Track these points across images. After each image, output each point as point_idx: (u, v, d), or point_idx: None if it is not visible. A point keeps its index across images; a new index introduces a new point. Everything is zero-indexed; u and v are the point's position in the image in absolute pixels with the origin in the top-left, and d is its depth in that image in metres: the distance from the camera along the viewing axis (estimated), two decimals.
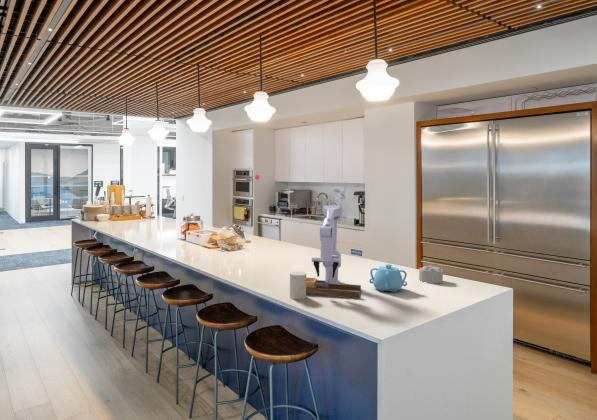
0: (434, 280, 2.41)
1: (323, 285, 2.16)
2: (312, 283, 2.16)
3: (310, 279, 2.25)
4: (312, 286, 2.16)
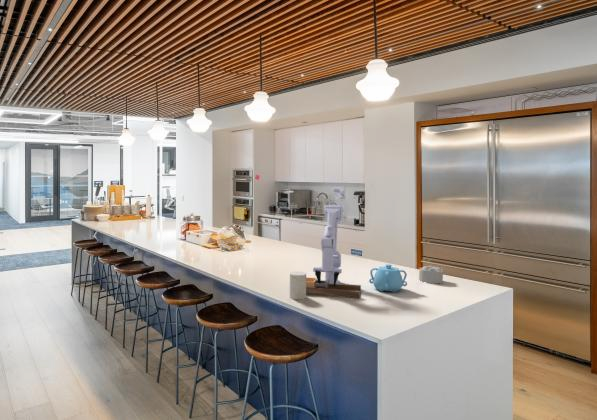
0: (434, 280, 2.41)
1: (323, 285, 2.16)
2: (312, 283, 2.16)
3: (310, 279, 2.25)
4: (312, 286, 2.16)
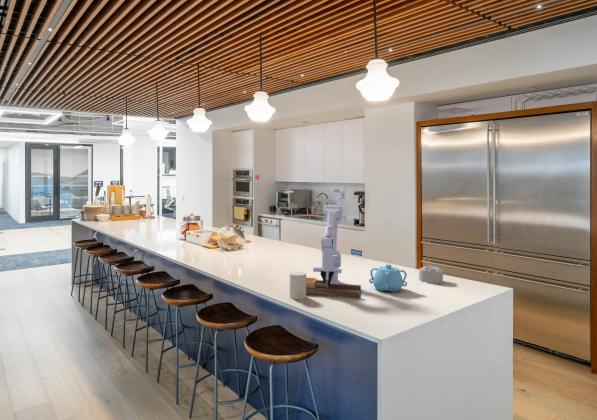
0: (434, 280, 2.41)
1: (323, 285, 2.16)
2: (312, 283, 2.16)
3: (310, 279, 2.25)
4: (312, 286, 2.16)
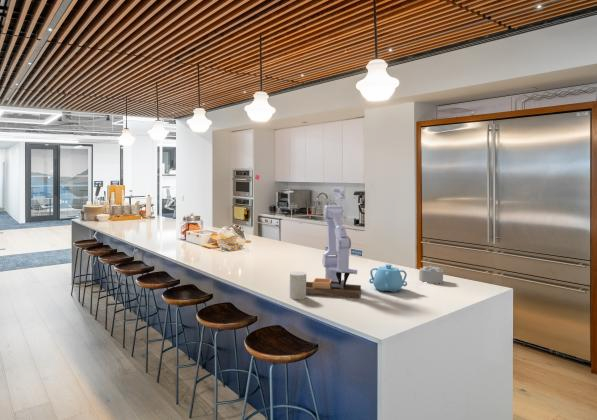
0: (434, 280, 2.40)
1: (339, 286, 2.14)
2: (328, 284, 2.15)
3: (325, 280, 2.23)
4: (328, 287, 2.15)
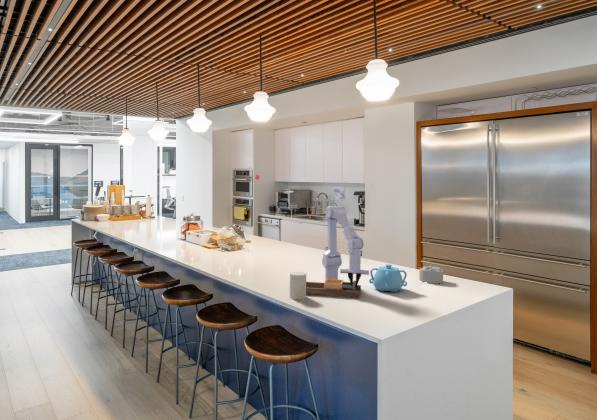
0: (434, 280, 2.40)
1: (351, 287, 2.13)
2: (339, 285, 2.13)
3: (336, 281, 2.22)
4: (339, 288, 2.13)
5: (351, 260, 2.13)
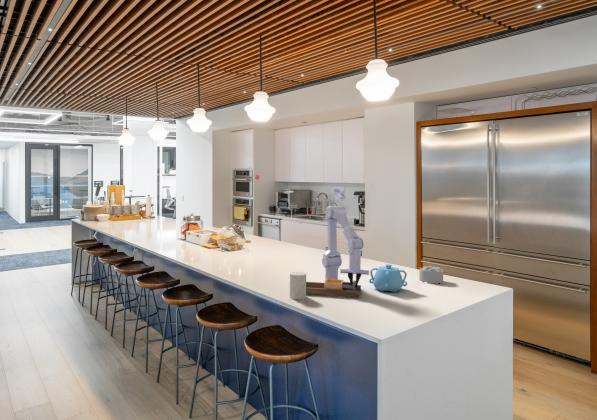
0: (435, 280, 2.40)
1: (351, 287, 2.13)
2: (339, 285, 2.13)
3: (336, 281, 2.22)
4: (339, 288, 2.13)
5: (351, 260, 2.13)
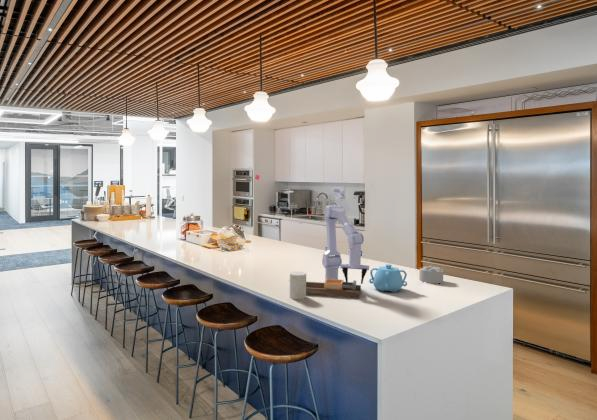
0: (435, 280, 2.40)
1: (351, 287, 2.13)
2: (339, 285, 2.13)
3: (336, 281, 2.22)
4: (339, 288, 2.13)
5: (351, 255, 2.13)
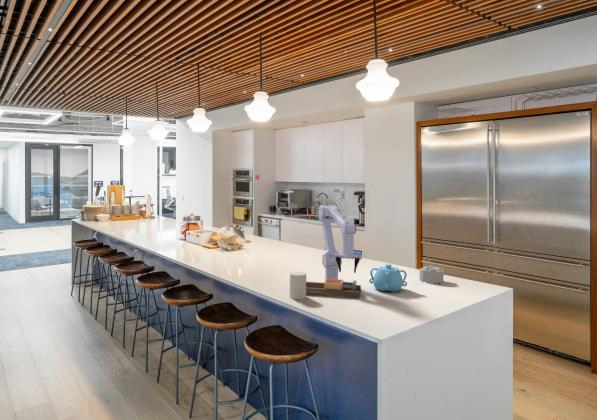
0: (435, 280, 2.40)
1: (351, 287, 2.13)
2: (339, 285, 2.13)
3: (336, 281, 2.22)
4: (339, 288, 2.13)
5: (344, 245, 2.18)
